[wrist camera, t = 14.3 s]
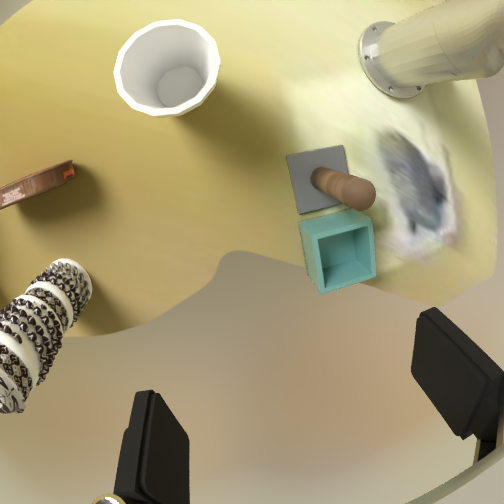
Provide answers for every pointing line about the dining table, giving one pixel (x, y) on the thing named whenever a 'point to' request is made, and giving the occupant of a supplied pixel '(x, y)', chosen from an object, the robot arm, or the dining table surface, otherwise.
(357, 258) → the teal open box
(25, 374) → the decorative candle
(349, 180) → the dowel
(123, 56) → the foam cup
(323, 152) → the coaster
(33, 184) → the tin
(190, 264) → the dining table surface
